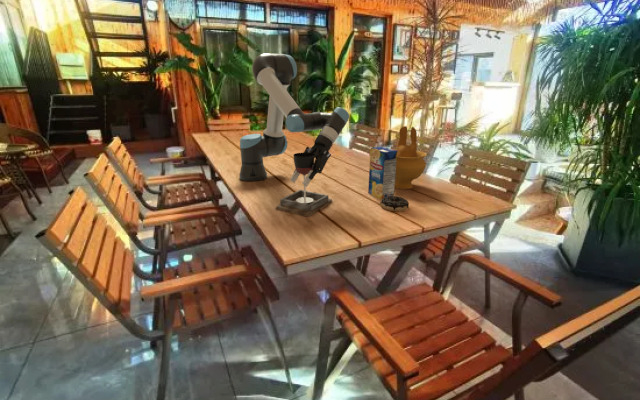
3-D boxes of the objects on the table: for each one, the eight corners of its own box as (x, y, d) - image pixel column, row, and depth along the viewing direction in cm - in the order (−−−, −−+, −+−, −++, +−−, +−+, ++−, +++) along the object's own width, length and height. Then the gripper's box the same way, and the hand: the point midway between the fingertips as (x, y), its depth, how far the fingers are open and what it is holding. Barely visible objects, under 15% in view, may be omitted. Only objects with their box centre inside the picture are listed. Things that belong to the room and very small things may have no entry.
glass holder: (276, 209, 140) (275, 200, 138) (302, 195, 156) (302, 188, 155) (307, 216, 132) (307, 207, 131) (332, 201, 148) (332, 193, 147)
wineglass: (294, 197, 147) (293, 152, 140) (314, 196, 147) (313, 152, 140) (294, 203, 139) (293, 156, 132) (315, 203, 140) (315, 156, 133)
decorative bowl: (373, 186, 170) (376, 126, 160) (394, 177, 185) (399, 122, 174) (410, 195, 157) (417, 131, 146) (430, 185, 171) (437, 126, 161)
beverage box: (381, 199, 150) (385, 152, 143) (368, 193, 160) (370, 147, 152) (393, 197, 153) (397, 150, 146) (379, 191, 163) (382, 146, 155)
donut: (388, 201, 149) (388, 192, 148) (413, 207, 142) (413, 198, 141) (376, 208, 141) (376, 199, 140) (401, 215, 134) (402, 205, 133)
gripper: (347, 147, 139) (319, 193, 134) (314, 141, 152) (288, 182, 147) (338, 136, 134) (309, 183, 129) (305, 131, 147) (278, 173, 142)
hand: (298, 182), depth 138 cm, fingers closed on wineglass, 7 cm apart
